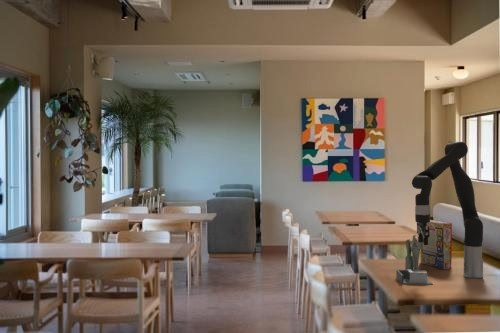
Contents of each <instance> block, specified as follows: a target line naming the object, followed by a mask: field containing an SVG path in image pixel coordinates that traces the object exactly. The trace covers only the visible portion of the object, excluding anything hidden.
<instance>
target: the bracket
mask: <svg viewBox="0 0 500 333" xmlns="http://www.w3.org/2000/svg"><path fill="white" fill-rule="evenodd" d="M404 243H405V249H406V255H405V257H404V258H405V262H404V263H405V264H404V266H405V267H404V268H405V269H404V270H407V269H411V270H419V259H420V254H421V243H422V242H419V236H417V238H416V234H414V235H412V240H410V238H408V239H407V240H405V242H404Z"/></svg>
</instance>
